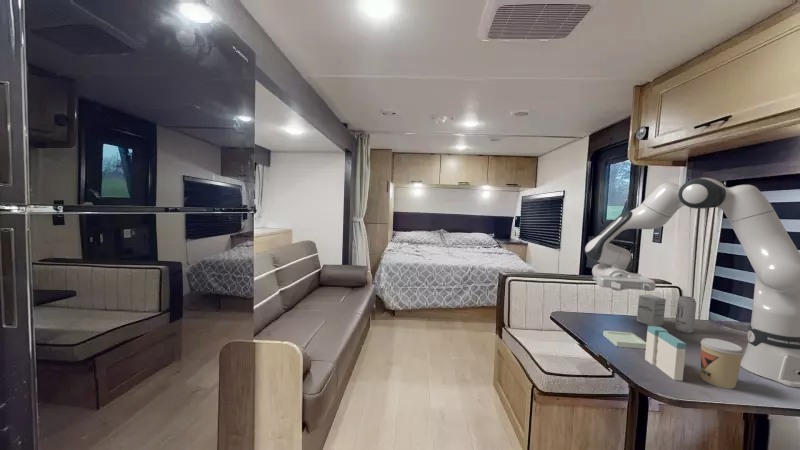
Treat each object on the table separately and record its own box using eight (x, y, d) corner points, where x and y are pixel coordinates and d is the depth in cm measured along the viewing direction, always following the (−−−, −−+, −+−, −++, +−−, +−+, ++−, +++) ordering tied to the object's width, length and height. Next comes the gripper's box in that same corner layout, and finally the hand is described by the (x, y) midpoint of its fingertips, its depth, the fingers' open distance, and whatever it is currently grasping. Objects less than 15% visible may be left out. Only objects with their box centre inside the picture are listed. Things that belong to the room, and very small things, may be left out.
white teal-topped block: (657, 360, 115) (660, 326, 114) (664, 365, 111) (668, 331, 110) (644, 359, 115) (647, 325, 114) (651, 364, 111) (655, 330, 110)
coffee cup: (691, 371, 107) (695, 335, 107) (728, 377, 104) (732, 340, 103) (706, 386, 99) (710, 347, 98) (746, 393, 95) (751, 353, 95)
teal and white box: (663, 366, 110) (666, 332, 109) (682, 380, 101) (686, 343, 100) (655, 365, 111) (658, 331, 110) (673, 379, 102) (677, 342, 101)
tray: (632, 337, 134) (632, 332, 134) (648, 349, 123) (648, 344, 123) (603, 335, 136) (603, 330, 136) (616, 346, 125) (617, 341, 125)
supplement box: (636, 321, 154) (638, 294, 153) (647, 319, 156) (649, 293, 155) (652, 327, 147) (654, 299, 146) (664, 325, 149) (666, 298, 148)
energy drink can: (671, 328, 146) (674, 295, 145) (685, 328, 146) (688, 295, 145) (682, 333, 140) (686, 299, 139) (697, 334, 140) (700, 299, 139)
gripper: (590, 270, 140) (606, 277, 126) (643, 273, 137) (665, 281, 123) (589, 285, 140) (605, 294, 127) (642, 288, 137) (663, 298, 124)
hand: (635, 287), depth 125 cm, fingers open, 8 cm apart
